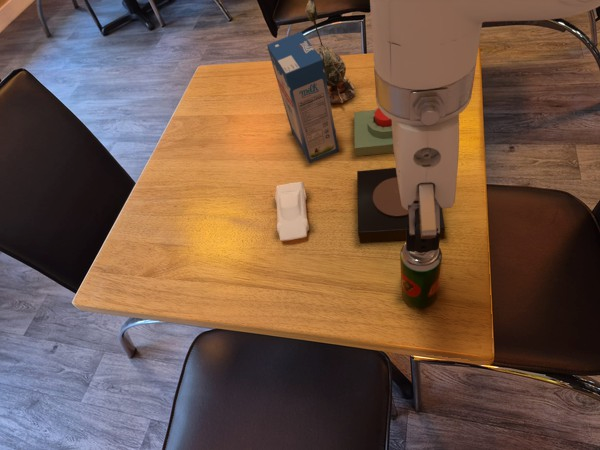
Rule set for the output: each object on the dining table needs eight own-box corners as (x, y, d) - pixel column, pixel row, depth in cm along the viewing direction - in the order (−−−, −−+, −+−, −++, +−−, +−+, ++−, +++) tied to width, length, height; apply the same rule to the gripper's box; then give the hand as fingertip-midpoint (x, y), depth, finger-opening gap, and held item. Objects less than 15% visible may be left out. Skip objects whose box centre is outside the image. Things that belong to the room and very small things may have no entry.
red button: (396, 111, 82) (396, 104, 80) (397, 126, 79) (397, 118, 78) (374, 114, 83) (374, 106, 81) (375, 128, 80) (374, 121, 79)
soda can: (436, 313, 61) (440, 270, 52) (399, 307, 63) (397, 264, 54) (439, 281, 64) (444, 235, 55) (404, 276, 66) (402, 231, 56)
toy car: (279, 246, 74) (274, 235, 71) (277, 192, 81) (272, 180, 78) (311, 241, 73) (307, 229, 70) (306, 187, 80) (302, 175, 77)
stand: (434, 176, 76) (435, 162, 73) (443, 238, 68) (445, 226, 66) (358, 182, 78) (356, 169, 76) (359, 243, 71) (357, 231, 68)
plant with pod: (317, 114, 91) (297, 24, 76) (318, 80, 98) (300, -9, 82) (356, 109, 90) (344, 16, 74) (354, 75, 97) (343, -17, 81)
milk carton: (339, 151, 84) (322, 59, 68) (309, 163, 83) (285, 74, 68) (319, 121, 90) (300, 30, 74) (292, 133, 90) (266, 44, 74)
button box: (416, 113, 86) (417, 97, 82) (421, 150, 80) (422, 133, 77) (355, 120, 88) (353, 104, 85) (355, 156, 82) (353, 140, 79)
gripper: (494, 153, 29) (465, 279, 42) (457, 14, 39) (444, 152, 53) (378, 163, 30) (386, 281, 44) (372, 26, 40) (380, 157, 54)
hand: (417, 211), depth 48 cm, fingers open, 9 cm apart
